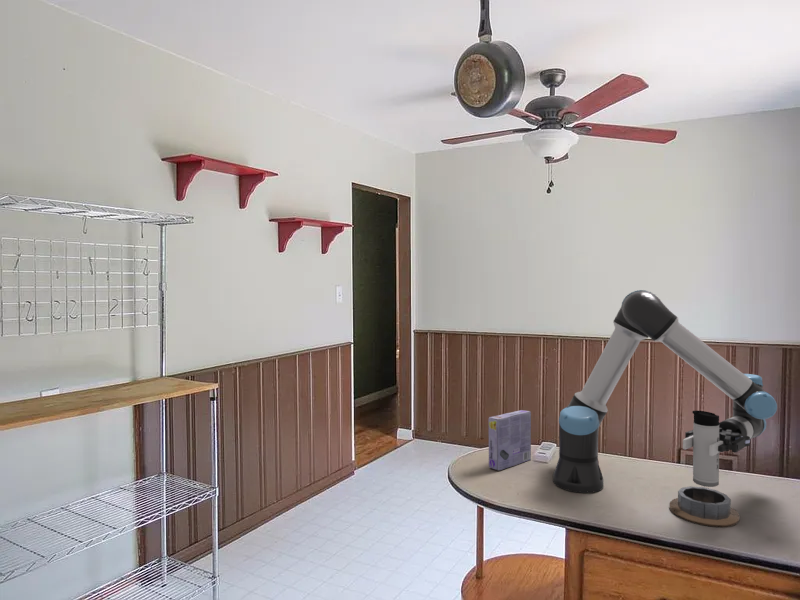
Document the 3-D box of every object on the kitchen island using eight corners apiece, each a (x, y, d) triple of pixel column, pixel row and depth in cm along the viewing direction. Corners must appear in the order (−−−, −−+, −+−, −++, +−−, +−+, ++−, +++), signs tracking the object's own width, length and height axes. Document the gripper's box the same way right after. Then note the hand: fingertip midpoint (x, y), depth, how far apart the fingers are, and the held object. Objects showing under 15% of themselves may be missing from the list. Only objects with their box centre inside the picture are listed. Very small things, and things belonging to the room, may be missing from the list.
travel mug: (687, 478, 157) (688, 408, 156) (711, 478, 156) (711, 408, 155) (698, 487, 150) (699, 414, 149) (723, 487, 150) (724, 414, 149)
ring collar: (655, 504, 159) (656, 487, 159) (702, 497, 165) (702, 480, 164) (704, 531, 143) (705, 512, 143) (754, 521, 148) (755, 503, 148)
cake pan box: (522, 455, 202) (522, 407, 201) (533, 459, 198) (534, 410, 197) (487, 468, 190) (487, 417, 189) (498, 472, 186) (498, 420, 185)
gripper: (770, 452, 156) (735, 471, 142) (699, 436, 172) (662, 452, 157) (770, 426, 156) (736, 442, 142) (699, 412, 171) (662, 426, 157)
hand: (697, 447), depth 150 cm, fingers closed on travel mug, 6 cm apart
